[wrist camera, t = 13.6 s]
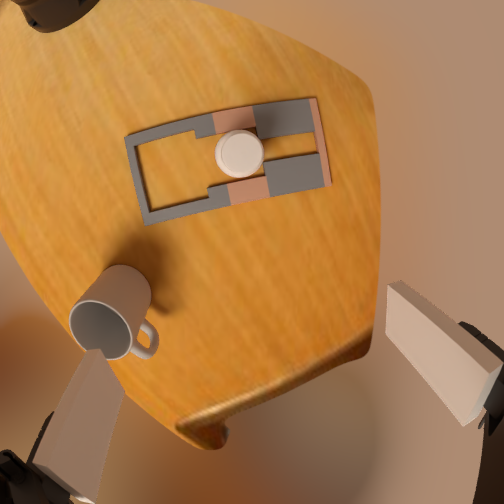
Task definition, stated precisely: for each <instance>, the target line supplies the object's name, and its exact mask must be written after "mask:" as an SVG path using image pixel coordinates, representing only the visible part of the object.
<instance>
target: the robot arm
mask: <svg viewBox="0 0 504 504" xmlns="http://www.w3.org/2000/svg"><path fill="white" fill-rule="evenodd" d="M11 1H13V2H15V3H16V4H18V5H19V6H20V8H21V10H22V12H23V14H24V16H25V19H26V21H27V23H28V24H29V25H30V26H31V27H32V28H34V29H35V30H37V31H39V32H42V33H50V32H54V31H57V30H60V29H62V28H65V27H67V26H68V25H70V24H72V23H74V22H75V21H77V20H78V19H79V18H81V17H82V16H83V15H85V14H86V13H87V12H88V11H89V10H90V9H91V8H92V7H93V6H94V5H95V4H96V3H97V2H98V1H99V0H11ZM387 292H388V293H387V317H386V335H387V336H388V337H389V338H390V340H391V341H392V342H393V343H394V344H395V345H396V346H397V347H398V349H399V350H400V351H401V352H402V353H403V354H404V356H405V357H406V358H407V359H408V360H409V361H410V363H411V364H412V365H413V366H414V367H415V368H416V370H417V371H418V372H419V373H420V374H421V376H422V377H423V378H424V379H425V380H426V381H427V383H428V384H429V385H430V386H431V387H432V389H433V390H434V391H435V392H436V394H437V395H438V396H439V397H440V398H441V400H442V401H443V402H444V403H445V405H446V406H447V407H448V408H449V409H450V411H451V412H452V413H453V414H454V416H455V417H456V418H457V420H458V421H459V422H460V423H461V425H462V426H465V425H466V424H468V423H469V422H471V421H472V420H473V419H475V418H476V417H477V416H478V415H479V413H480V411H481V409H482V408H483V406H484V408H485V409H486V410H487V411H486V413H485V415H484V417H483V418H482V420H481V422H480V423H479V426H478V429H480V428H481V427H482V425H483V423H485V424H484V437H483V448H482V456H481V463H480V470H479V476H478V481H477V486H476V491H475V495H474V499H473V504H504V351H503V350H502V349H501V348H500V347H499V346H498V345H496V344H495V343H494V342H493V341H491V340H490V339H488V337H487V336H485V335H484V334H481V332H480V331H479V330H478V329H477V328H475V327H474V326H473V325H470V324H468V323H465V322H460V323H456V322H455V321H454V320H453V319H451V318H450V317H449V316H448V315H446V314H445V313H444V312H442V311H441V310H440V309H439V308H437V307H436V306H435V305H433V304H432V303H431V302H429V301H428V300H427V299H426V298H424V297H423V296H422V295H420V294H419V293H418V292H416V291H415V290H414V289H412V288H411V287H410V286H408V285H407V284H406V283H404V282H403V281H401V280H400V281H397V282H394V283H391V284H388V290H387ZM124 393H125V390H124V389H123V387H122V386H121V384H120V382H119V381H118V379H117V377H116V376H115V374H114V372H113V371H112V369H111V367H110V365H109V364H108V362H107V360H106V358H105V356H104V355H103V353H102V351H101V349H92V350H87V351H86V353H85V355H84V357H83V359H82V360H81V362H80V364H79V366H78V367H77V369H76V371H75V373H74V375H73V377H72V379H71V380H70V382H69V384H68V386H67V388H66V390H65V392H64V394H63V396H62V398H61V400H60V402H59V404H58V406H57V408H56V410H55V411H53V412H52V413H51V414H50V415H49V416H48V417H47V418H46V420H45V422H44V424H43V426H42V428H41V429H42V430H41V431H40V432H39V435H38V438H37V439H36V441H35V444H34V446H33V448H32V450H31V453H30V455H29V457H28V460H27V462H26V464H25V463H24V462H23V461H22V460H21V459H20V458H19V457H18V456H16V454H15V453H14V452H12V451H11V450H3V451H1V452H0V504H74V503H73V502H72V501H71V500H70V499H69V498H70V494H71V495H73V496H74V497H75V498H77V499H78V500H80V501H83V502H88V503H92V504H96V499H97V494H98V489H99V485H100V481H101V476H102V472H103V467H104V464H105V460H106V456H107V452H108V448H109V444H110V440H111V437H112V433H113V429H114V426H115V422H116V419H117V416H118V412H119V409H120V406H121V403H122V399H123V396H124Z"/></svg>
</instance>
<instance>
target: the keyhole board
mask: <svg viewBox="0 0 504 504" xmlns="http://www.w3.org/2000/svg"><path fill="white" fill-rule="evenodd" d="M252 127H255V128H256V133H257V137H258V139H259V140H261V139H267V138H273V137H279V136H286V135H293V134H300V133H308V132H314V137H315V143H316V148H317V154H311V155H304V156H298V157H292V158H286V159H280V160H274V161H268V162H263V168H264V173H265V176H261V177H256V178H251V179H246V180H241V181H237V182H232V183H227V184H223V185H218V186H214V187H210V188H207V191H208V195H209V198H205V199H201V200H197V201H192V202H188V203H184V204H180V205H176V206H172V207H168V208H164V209H161V210H157V211H153V212H150V208H149V205H148V201H147V197H146V193H145V188H144V184H143V180H142V176H141V171H140V167H139V162H138V158H137V153H136V148H135V146H137V145H140V144H144V143H147V142H150V141H154V140H157V139H161V138H164V137H168V136H172V135H175V134H179V133H183V132H187V131H191V130H195V135H196V139H198V138H203V137H207V136H211V135H216V134H221V133H226V132H230V131H233V130H241V129H246V128H252ZM124 139H125V144H126V149H127V154H128V159H129V164H130V168H131V173H132V177H133V181H134V186H135V190H136V194H137V198H138V202H139V206H140V209H141V213H142V217H143V221H144V224H145V226H148V225H152V224H155V223H159V222H163V221H167V220H171V219H175V218H179V217H183V216H187V215H192V214H196V213H200V212H204V211H209V210H213V209H217V208H222V207H226V206H231V205H235V204H240V203H245V202H249V201H254V200H259V199H264V198H269V197H274V196H279V195H284V194H289V193H294V192H299V191H305V190H310V189H316V188H321V187H327V186H332V184H331V177H330V171H329V165H328V158H327V153H326V147H325V141H324V136H323V130H322V125H321V120H320V115H319V110H318V106H317V101H316V98H312V99H301V100H291V101H282V102H274V103H267V104H260V105H253V106H247V107H241V108H236V109H230V110H225V111H220V112H215V113H210V114H206V115H201V116H197V117H193V118H189V119H185V120H181V121H177V122H173V123H169V124H166V125H162V126H159V127H155V128H152V129H148V130H145V131H142V132H139V133H136V134H132V135H129V136H126V137H124Z"/></svg>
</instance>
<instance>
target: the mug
mask: <svg viewBox="0 0 504 504" xmlns="http://www.w3.org/2000/svg"><path fill="white" fill-rule="evenodd" d="M150 303H151V289H150V285H149V283H148V281H147V280H146V278H145V277H144V276H143V275H142V274H141V273H140V272H139V271H138V270H136V269H135V268H133V267H130V266H127V265H114V266H111V267H109V268H107V269H106V270H105V271H104V272H103V273H102V274H101V275H100V276H99V277H98V278H97V280H96V281H95V282H94V283H93V284H92V285H91V286H90V287H89V289H88V290H87V291H86V292H85V293H84V294H83V295H82V297H81V298H80V299H79V300H78V301H77V302H76V303H75V305H74V306H73V308H72V309H71V312H70V315H69V326H70V330H71V332H72V335H73V337H74V338H75V340H76V341H77V343H78V344H79V345H80V346H81V347H82V348H83V349H84V350H85V351H87V350H92V349H101V351H102V353H103V355H104V356H105V358H106V360H116V359H120V358H122V357H124V356H125V355H126V354H128V352H129V351H131V352H132V353H134V354H135V355H137V356H138V357H140V358H142V359H149V358H151V357H152V356H153V355H154V354H155V352H156V351H157V348H158V345H159V335H158V332H157V330H156V329H155V328H154V326H153V325H152V324H151V323H149V322H148V321H147V320H146V319H145V316H146V313H147V310H148V308H149V306H150ZM139 329H141V330H143V331H144V332H145V333H146V334H147V335H148V336H149V338H150V347H149V349H148V348H145V347H144V346H142V345H141V344H140V343H139V342H138V341H137V339H136V338H137V335H138V332H139Z"/></svg>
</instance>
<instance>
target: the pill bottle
mask: <svg viewBox="0 0 504 504" xmlns="http://www.w3.org/2000/svg"><path fill="white" fill-rule="evenodd" d="M215 159H216V162H217V165H218V166H219V168H220V169H221V170H222V171H223V172H224V173H226V174H227V175H229V176H232V177H237V178H241V177H247V176H249V175H252V174H253V173H255V172H256V171H257V170H258V169H259V168H260V166H261V164H262V162H263V159H264V148H263V145H262V143H261V141H260V140H259V139H258V137H257V136H256V135H254V134H253V133H251V132H249V131H246V130H233V131H230V132H228V133H226V134H225V135H223V136H222V137H221V138H220V140H219V141H218V143H217V145H216V148H215Z"/></svg>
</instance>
